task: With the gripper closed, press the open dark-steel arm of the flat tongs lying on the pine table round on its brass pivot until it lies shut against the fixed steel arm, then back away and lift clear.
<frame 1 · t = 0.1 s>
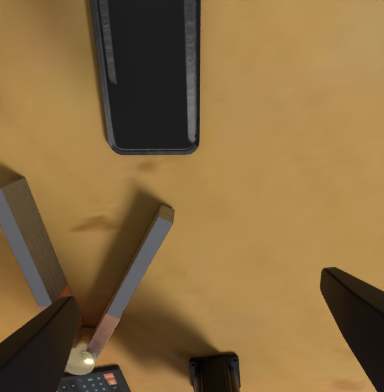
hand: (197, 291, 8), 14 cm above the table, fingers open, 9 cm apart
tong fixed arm: (89, 336, 29), on the table
phone: (150, 59, 19), on the table
calculator: (100, 391, 34), on the table
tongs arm: (112, 295, 24), point 2 cm above the table, hinge at -35.0°
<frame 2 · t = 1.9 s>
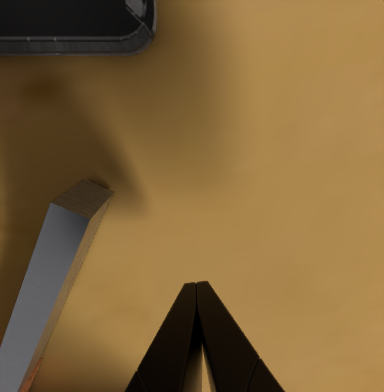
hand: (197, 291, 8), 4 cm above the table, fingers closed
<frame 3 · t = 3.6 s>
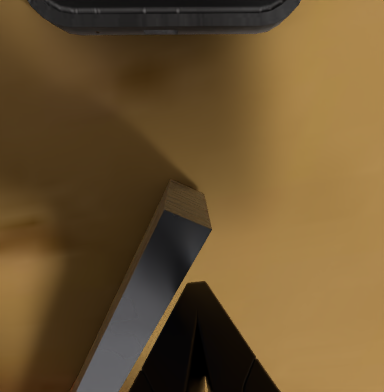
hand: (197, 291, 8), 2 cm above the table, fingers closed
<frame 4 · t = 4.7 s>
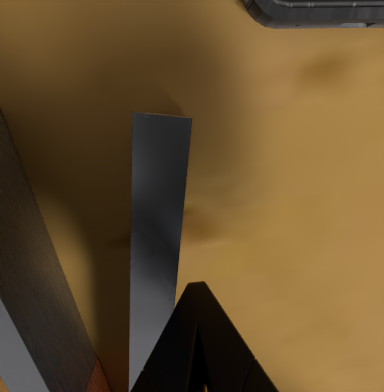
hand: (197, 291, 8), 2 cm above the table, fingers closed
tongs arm: (130, 379, 10), point 2 cm above the table, hinge at -13.4°, touching gripper
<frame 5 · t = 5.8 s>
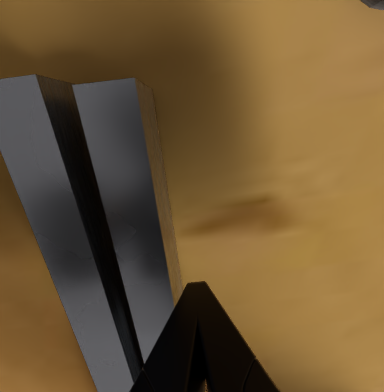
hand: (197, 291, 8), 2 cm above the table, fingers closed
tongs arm: (153, 370, 10), point 2 cm above the table, hinge at -0.9°, touching gripper
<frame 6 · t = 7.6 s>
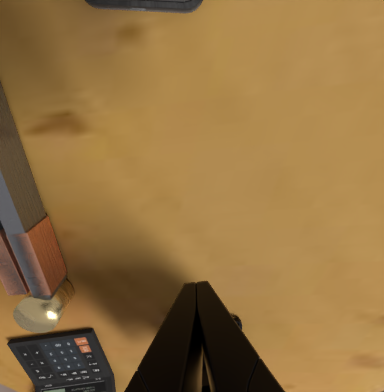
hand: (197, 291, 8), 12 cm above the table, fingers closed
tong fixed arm: (56, 288, 23), on the table
calculator: (72, 363, 28), on the table
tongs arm: (8, 211, 18), point 2 cm above the table, hinge at -0.7°
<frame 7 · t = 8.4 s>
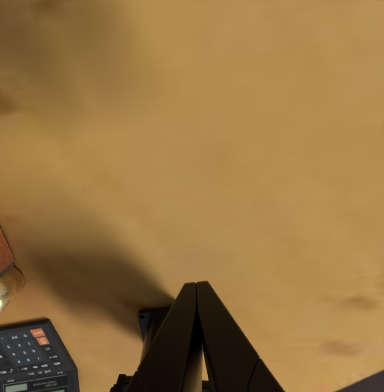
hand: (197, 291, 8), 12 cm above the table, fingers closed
calculator: (34, 357, 27), on the table
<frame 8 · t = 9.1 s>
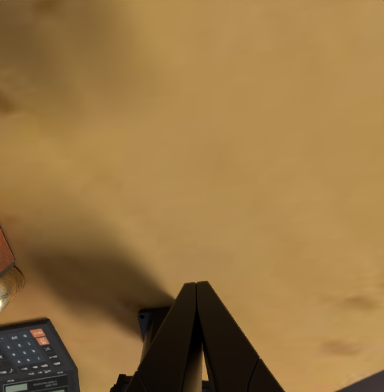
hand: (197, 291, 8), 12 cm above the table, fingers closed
calculator: (34, 357, 27), on the table
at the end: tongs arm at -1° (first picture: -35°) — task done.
